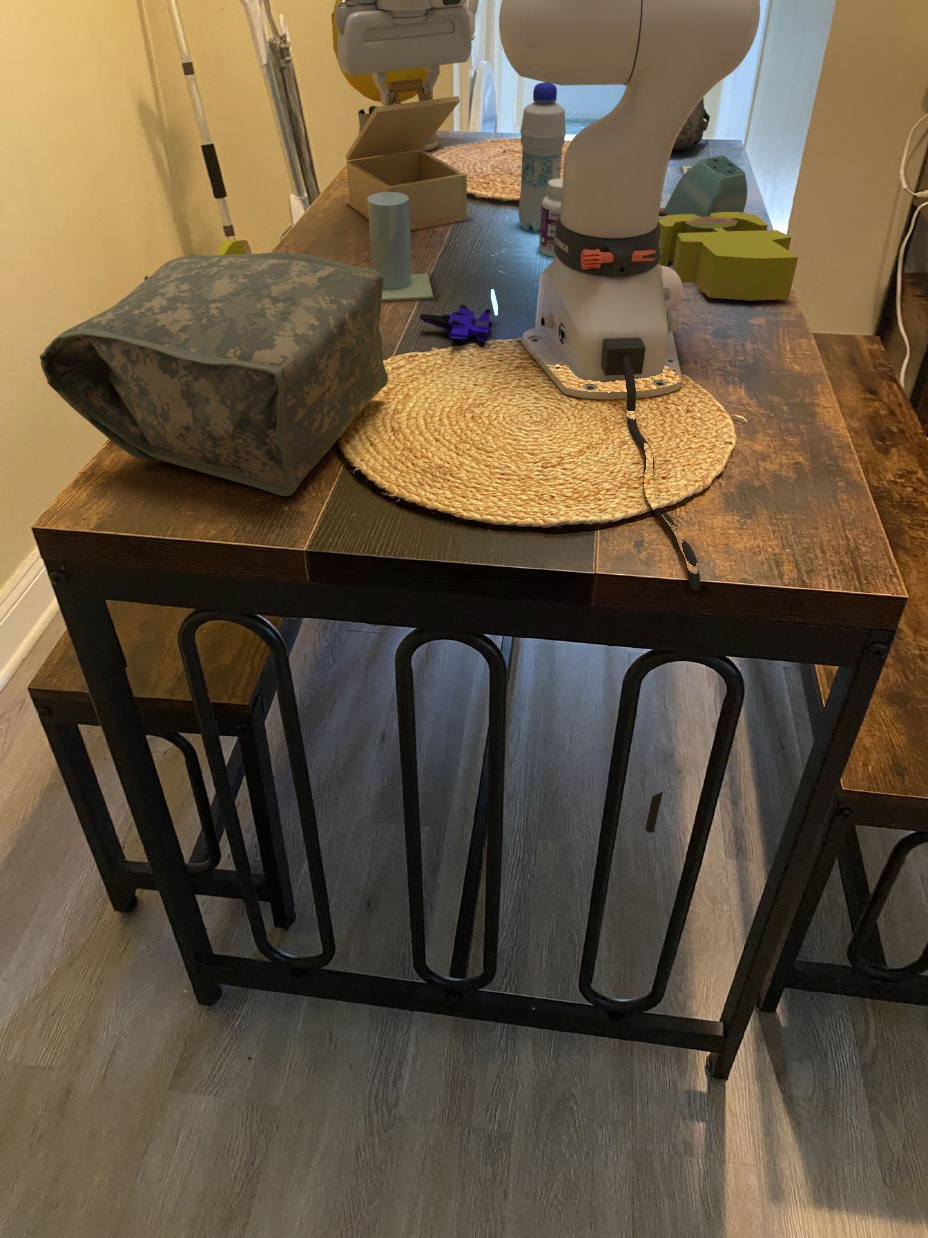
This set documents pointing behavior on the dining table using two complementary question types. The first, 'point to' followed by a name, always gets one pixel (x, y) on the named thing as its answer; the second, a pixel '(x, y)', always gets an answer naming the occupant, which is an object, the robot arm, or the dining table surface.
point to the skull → (693, 128)
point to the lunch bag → (229, 364)
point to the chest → (411, 186)
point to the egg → (672, 287)
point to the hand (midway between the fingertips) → (407, 102)
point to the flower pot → (709, 189)
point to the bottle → (540, 151)
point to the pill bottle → (550, 216)
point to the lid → (401, 123)
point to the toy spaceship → (462, 324)
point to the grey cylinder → (390, 238)
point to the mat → (410, 290)
